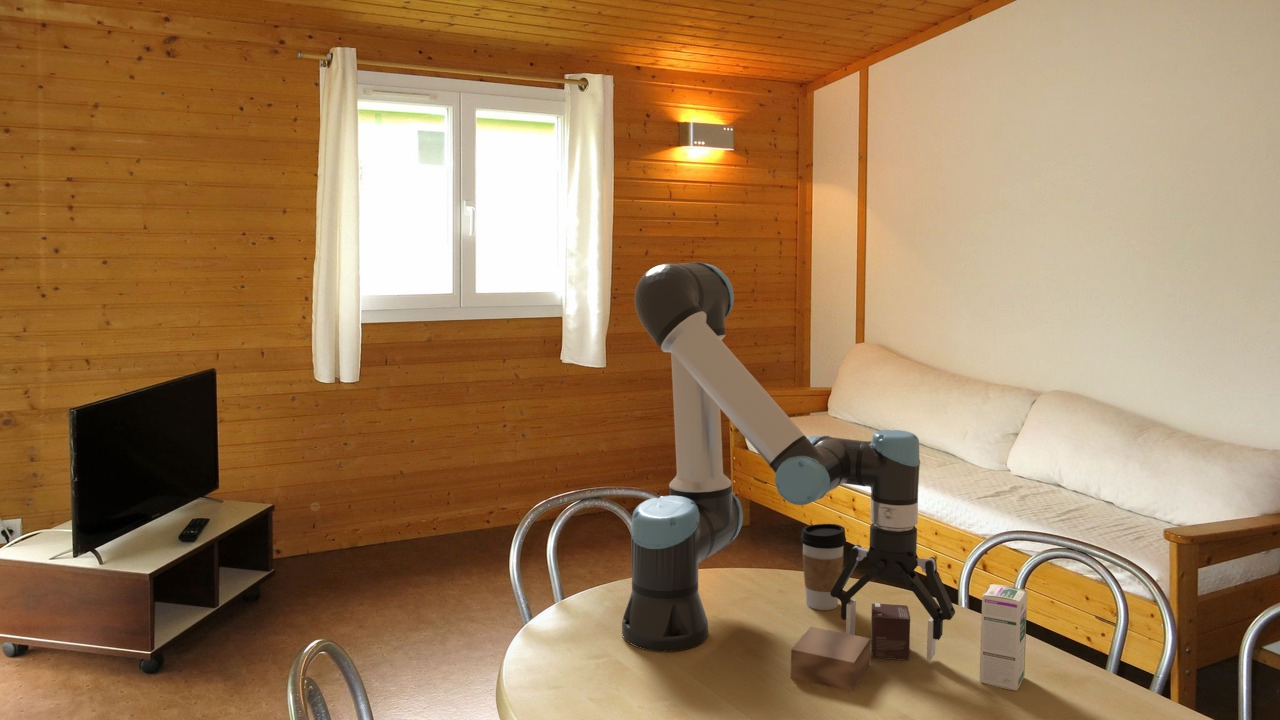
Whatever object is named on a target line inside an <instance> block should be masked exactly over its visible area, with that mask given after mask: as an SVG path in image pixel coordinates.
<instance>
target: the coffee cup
mask: <svg viewBox="0 0 1280 720" xmlns="http://www.w3.org/2000/svg"><path fill="white" fill-rule="evenodd" d="M846 541H847V538H846V528H845V527H844V526H842V525H840V524H836V523H816V524H811V525H805V526H804V527H802V530H801V535H800V543H802V566H803V578H804V587H805V603H806V605H807V607H809V608H811V609H814V610H819V611H830V610H831V611H832V610H835V609H836V608H837V607H838V606H839V599H838V598H836V597H832V596H831V594H830V593H831V591H832V589H833V587H834V585H835V584H836V582H837V580H838V579H839V577H840V575H841V573H842V572H843V564H844V557H845V556H844V555H845V554H844V547H845V546H846V544H847V542H846Z"/></svg>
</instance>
